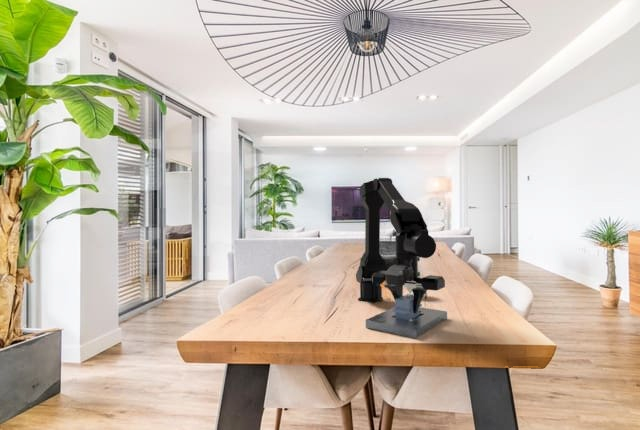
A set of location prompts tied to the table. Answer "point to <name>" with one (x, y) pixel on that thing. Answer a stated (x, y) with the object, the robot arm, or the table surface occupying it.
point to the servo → (405, 307)
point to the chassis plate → (407, 322)
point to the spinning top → (411, 285)
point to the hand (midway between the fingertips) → (407, 311)
